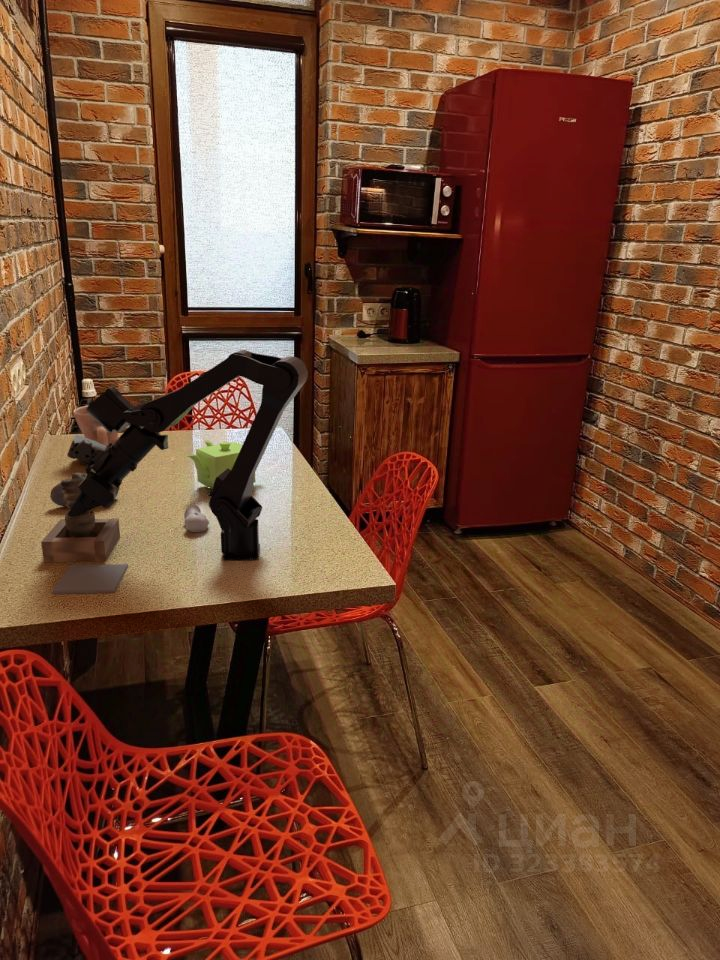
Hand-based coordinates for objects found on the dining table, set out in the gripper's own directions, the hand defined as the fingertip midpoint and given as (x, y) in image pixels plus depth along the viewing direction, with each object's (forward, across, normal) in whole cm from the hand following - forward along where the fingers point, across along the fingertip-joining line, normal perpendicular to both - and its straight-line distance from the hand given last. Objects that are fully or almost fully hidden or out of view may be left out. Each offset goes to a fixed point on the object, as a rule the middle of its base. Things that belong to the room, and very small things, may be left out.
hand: (72, 510), depth 129 cm
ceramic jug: (+7, -59, +5) cm, 59 cm away
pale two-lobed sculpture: (-10, -7, +22) cm, 25 cm away
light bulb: (+5, 0, +7) cm, 8 cm away
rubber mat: (+3, +14, +9) cm, 17 cm away
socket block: (+5, 0, +6) cm, 8 cm away
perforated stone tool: (+7, -25, +5) cm, 27 cm away
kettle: (-15, -32, +26) cm, 44 cm away
